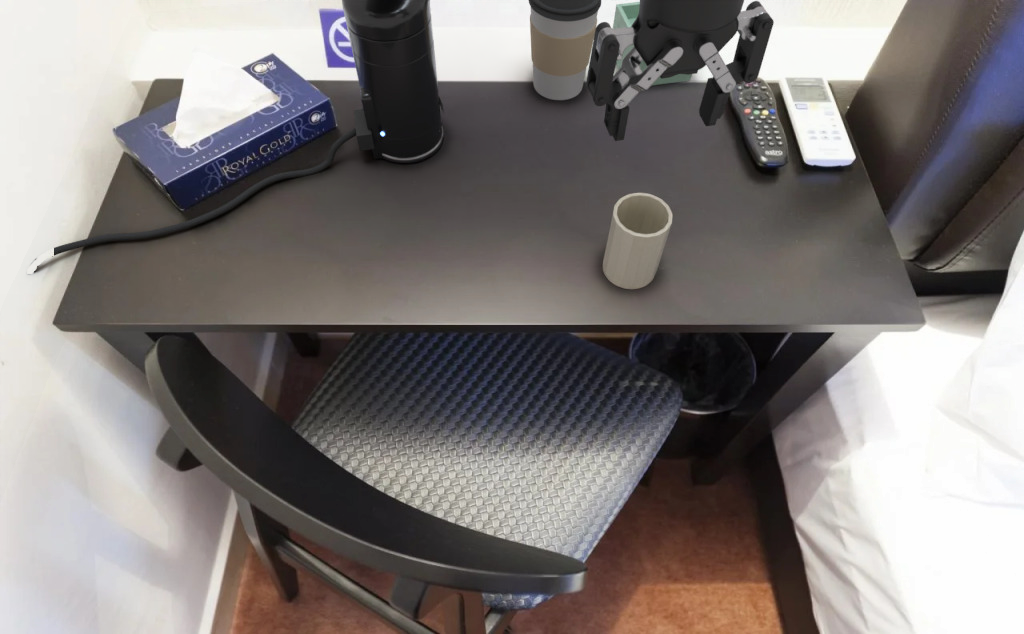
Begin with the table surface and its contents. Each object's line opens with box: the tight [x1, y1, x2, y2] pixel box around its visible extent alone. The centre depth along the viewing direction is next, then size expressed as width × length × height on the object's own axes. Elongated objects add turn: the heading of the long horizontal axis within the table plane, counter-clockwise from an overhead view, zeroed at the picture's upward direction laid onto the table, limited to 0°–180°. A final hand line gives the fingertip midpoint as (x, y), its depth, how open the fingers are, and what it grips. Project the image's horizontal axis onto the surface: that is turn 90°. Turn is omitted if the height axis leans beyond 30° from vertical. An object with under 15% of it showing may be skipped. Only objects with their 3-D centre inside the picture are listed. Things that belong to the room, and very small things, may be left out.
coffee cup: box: [528, 0, 602, 101], centre depth 87 cm, size 9×9×15 cm
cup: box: [602, 192, 673, 290], centre depth 72 cm, size 6×6×9 cm
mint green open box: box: [612, 1, 693, 87], centre depth 92 cm, size 9×9×9 cm
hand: (661, 127), depth 60 cm, fingers open, 8 cm apart
